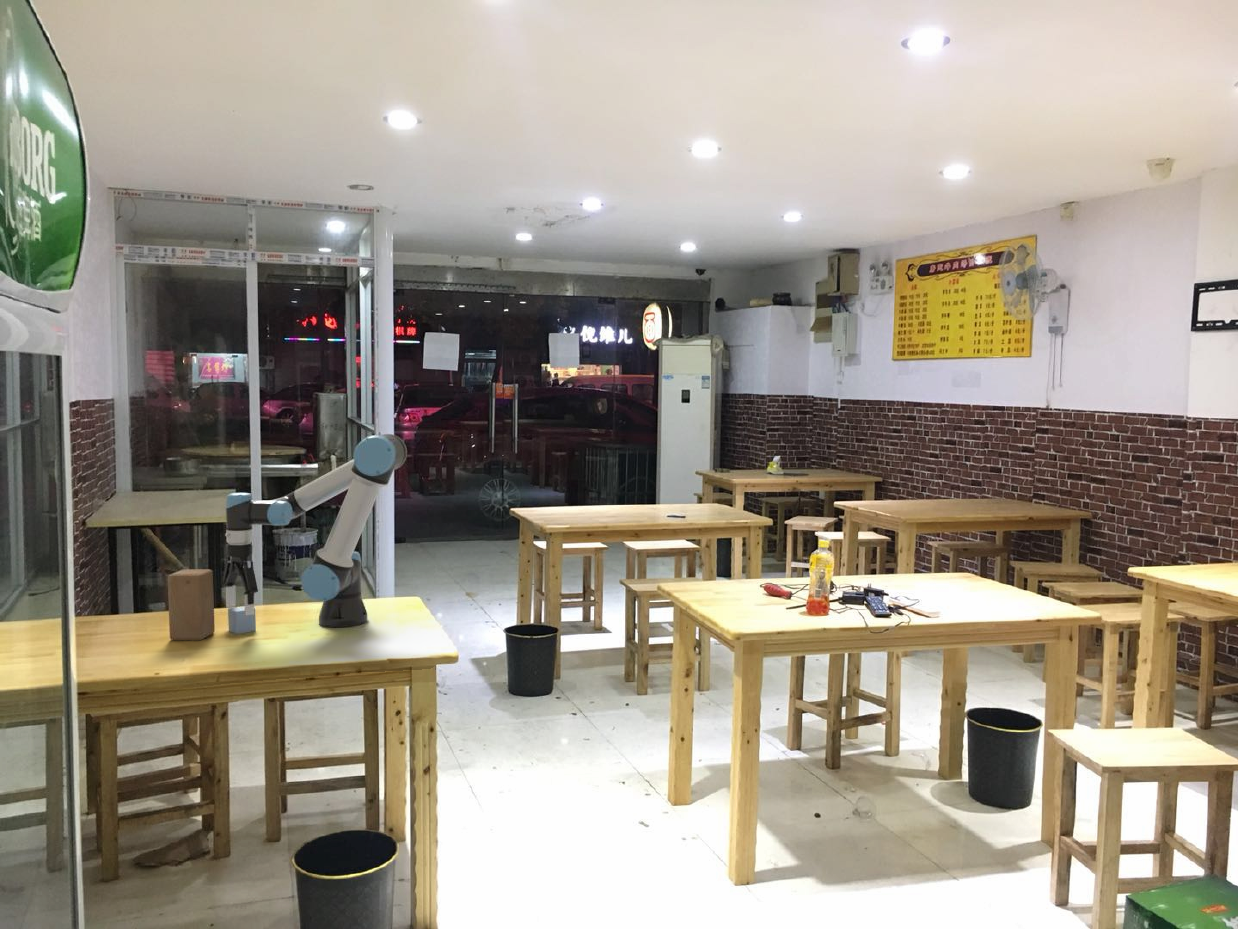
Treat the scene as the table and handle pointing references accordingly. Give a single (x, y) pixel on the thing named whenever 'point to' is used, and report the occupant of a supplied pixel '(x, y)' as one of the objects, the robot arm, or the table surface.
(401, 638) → the table surface
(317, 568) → the robot arm
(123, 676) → the table surface
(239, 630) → the slate block
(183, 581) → the wooden block
